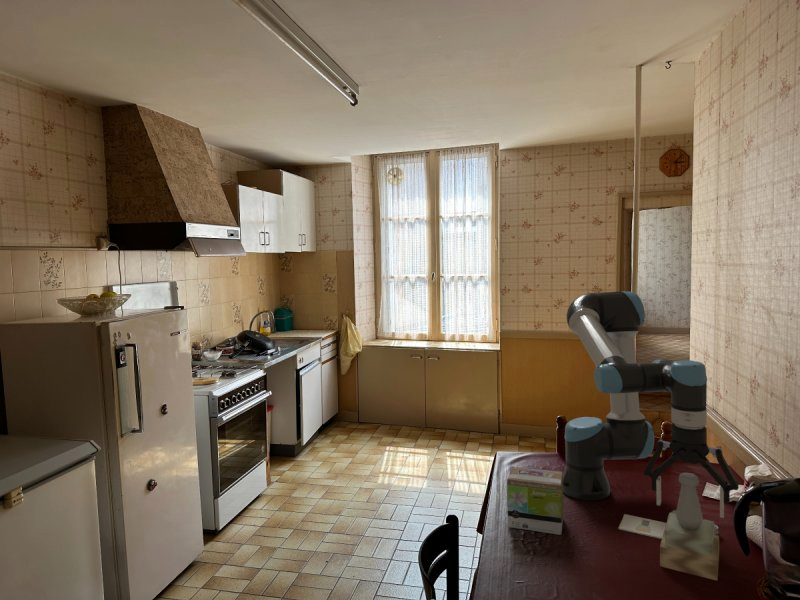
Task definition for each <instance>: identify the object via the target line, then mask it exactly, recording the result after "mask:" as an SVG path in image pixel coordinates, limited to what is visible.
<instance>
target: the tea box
mask: <svg viewBox="0 0 800 600" xmlns="http://www.w3.org/2000/svg"><path fill="white" fill-rule="evenodd" d="M563 474H564V471H559V470H558V471H557V470H548V469H538V468H528V467H519V466H511V468H510V471H509V474H508V477H507V479H506V495H507V496H506V497H507V498H506V499H507V501H506V503H507V504H506V505H507V526H508V528H510V529H511V528H512V529H520V530H524V531H525V530H527V531H533V532H539V533H546V534H551V535H552V534H553V535H558V536H561V535H562V531H563V520H564V493H563Z"/></svg>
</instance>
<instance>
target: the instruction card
mask: <svg viewBox="0 0 800 600" xmlns="http://www.w3.org/2000/svg"><path fill="white" fill-rule="evenodd" d="M666 523H667V522H663V521H659V520H653V519H650V518H646V517H645V518H644V517H639V516H635V515H631V514H626V513H624V514H623V517H622V520H621V521H620V523H619V526H618V530H620V531H624V532H629V533H633V534H638V535H642V536H647V537H651V538H654V539H655V538H656V539H659V540H662V537H663V533H664V529H665V525H666Z"/></svg>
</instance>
